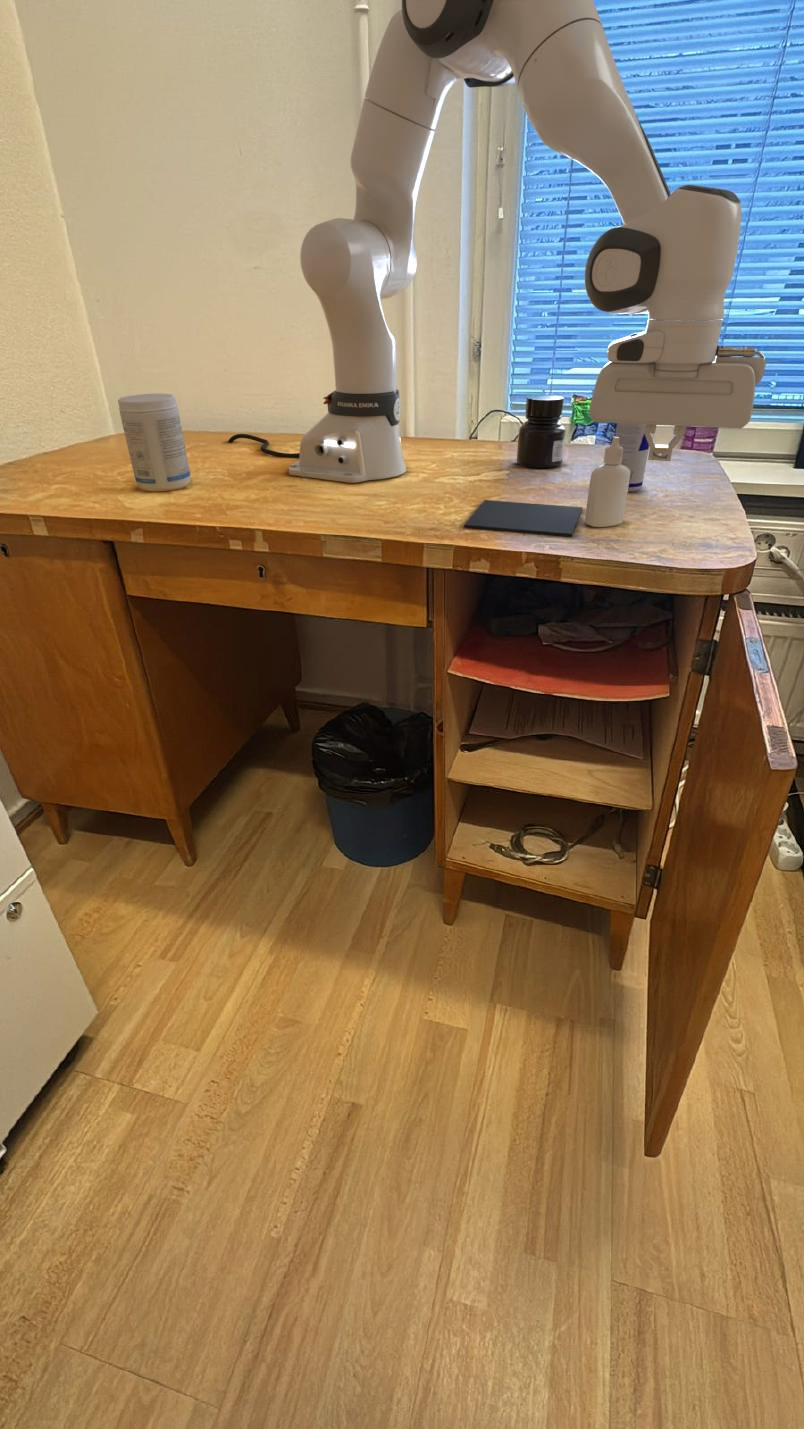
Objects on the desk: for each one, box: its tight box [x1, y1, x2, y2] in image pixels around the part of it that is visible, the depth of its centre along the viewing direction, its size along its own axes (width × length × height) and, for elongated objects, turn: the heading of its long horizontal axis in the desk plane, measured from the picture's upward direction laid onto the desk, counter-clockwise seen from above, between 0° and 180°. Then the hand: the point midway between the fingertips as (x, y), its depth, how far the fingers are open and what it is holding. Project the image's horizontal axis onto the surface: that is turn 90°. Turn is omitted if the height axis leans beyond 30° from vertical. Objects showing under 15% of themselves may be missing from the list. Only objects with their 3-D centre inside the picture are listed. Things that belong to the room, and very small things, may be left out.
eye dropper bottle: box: [584, 436, 630, 528], centre depth 98 cm, size 4×6×12 cm
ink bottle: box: [516, 394, 566, 469], centre depth 131 cm, size 10×9×12 cm
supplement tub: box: [117, 393, 192, 492], centre depth 119 cm, size 10×10×15 cm
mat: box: [463, 499, 583, 538], centre depth 103 cm, size 16×14×1 cm
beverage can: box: [614, 423, 650, 493], centre depth 114 cm, size 6×6×15 cm
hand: (659, 459), depth 94 cm, fingers closed
